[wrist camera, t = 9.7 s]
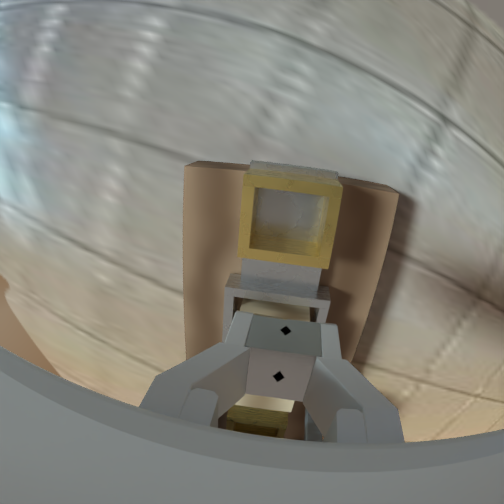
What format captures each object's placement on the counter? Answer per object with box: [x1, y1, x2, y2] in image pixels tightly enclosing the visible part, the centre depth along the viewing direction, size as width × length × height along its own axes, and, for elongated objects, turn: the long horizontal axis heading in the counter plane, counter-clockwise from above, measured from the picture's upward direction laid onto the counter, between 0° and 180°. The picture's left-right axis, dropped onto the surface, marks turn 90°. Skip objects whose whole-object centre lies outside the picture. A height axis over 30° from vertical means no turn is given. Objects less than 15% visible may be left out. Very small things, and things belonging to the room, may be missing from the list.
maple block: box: [235, 298, 310, 412], centre depth 27 cm, size 6×9×6 cm, turn 175°
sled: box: [222, 160, 343, 438], centre depth 28 cm, size 9×32×4 cm, turn 175°
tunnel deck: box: [183, 161, 399, 442], centre depth 32 cm, size 18×54×14 cm, turn 175°
